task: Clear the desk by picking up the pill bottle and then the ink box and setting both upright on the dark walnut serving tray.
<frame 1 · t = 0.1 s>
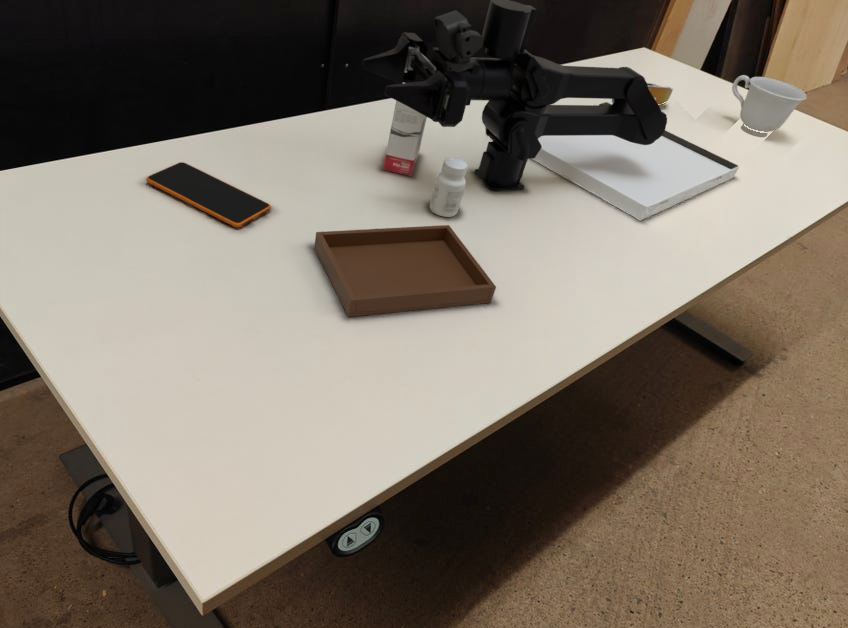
hand: (373, 76, 91), 17 cm above the table, tool horizontal, fingers open, 9 cm apart
tray: (401, 274, 87), on the table
teacup: (746, 130, 151), on the table
sunglasses: (632, 97, 155), on the table
ink box: (400, 163, 111), on the table
white flat slab: (617, 160, 127), on the table
pill bottle: (442, 211, 101), on the table
smartphone: (208, 197, 93), on the table
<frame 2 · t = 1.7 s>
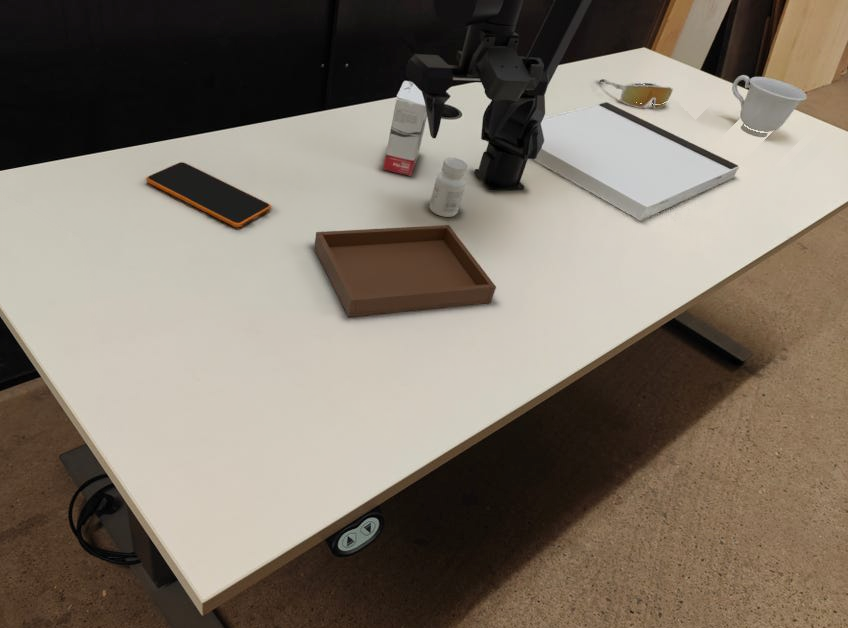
hand: (462, 137, 94), 12 cm above the table, tool pointing down, fingers open, 9 cm apart
nothing on the table moved.
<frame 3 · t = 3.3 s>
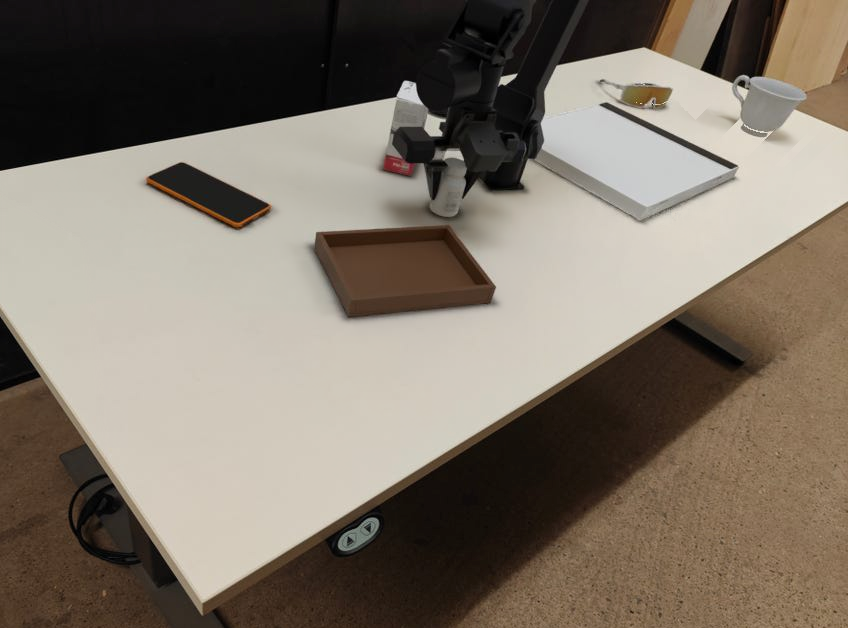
hand: (446, 198, 100), 2 cm above the table, tool pointing down, fingers closed on pill bottle, 4 cm apart
pill bottle: (442, 211, 101), on the table, touching gripper
everything else where it was.
when the fingers open (2 cm above the table, at t = 8.8 s): pill bottle stays where it is, resting on tray.
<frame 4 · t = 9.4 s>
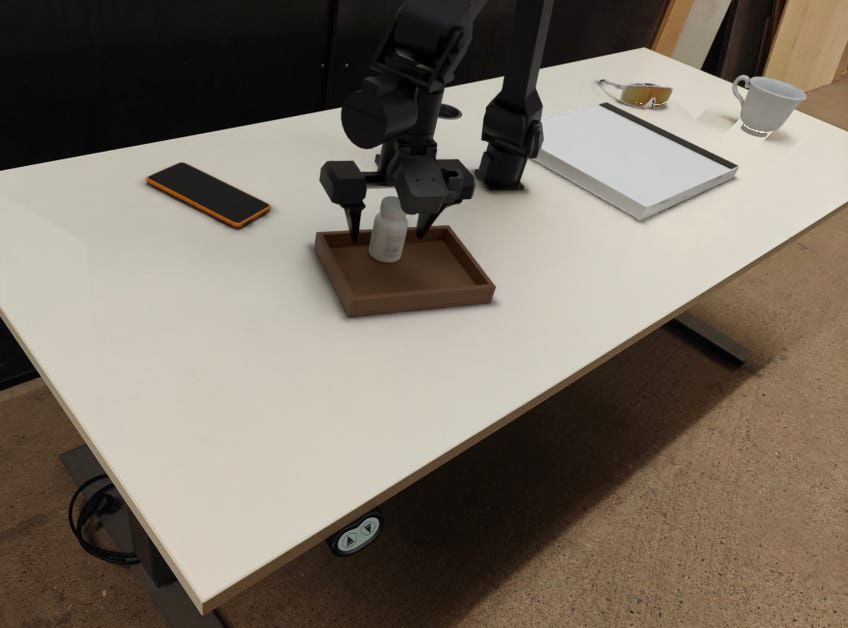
hand: (386, 239, 87), 3 cm above the table, tool pointing down, fingers open, 9 cm apart
pill bottle: (384, 255, 89), resting on tray
everything else where it was.
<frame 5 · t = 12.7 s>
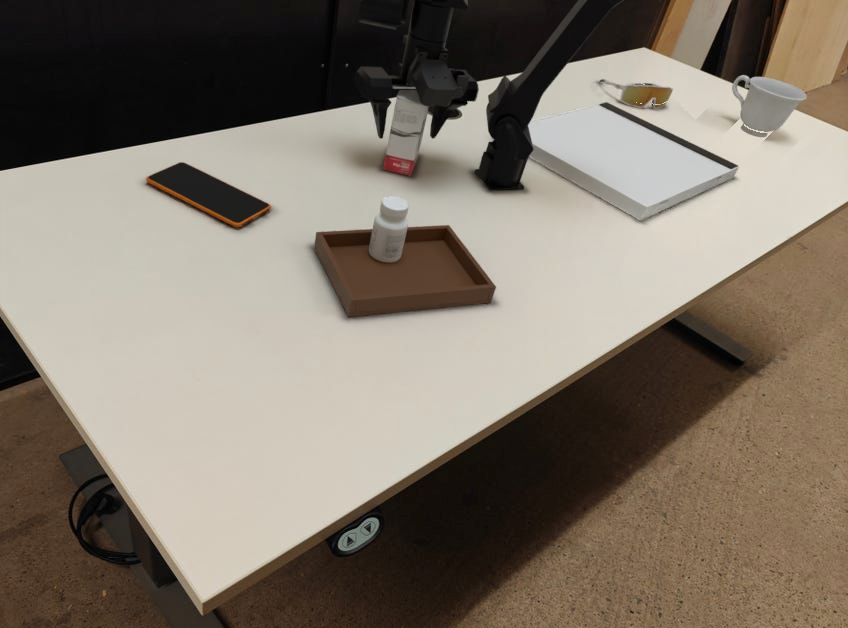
hand: (406, 137, 108), 4 cm above the table, tool pointing down
ink box: (400, 163, 111), on the table, touching gripper
everything else where it was.
when the fingers open (5 cm above the table, at t = 19.3 s): ink box stays where it is, resting on tray.
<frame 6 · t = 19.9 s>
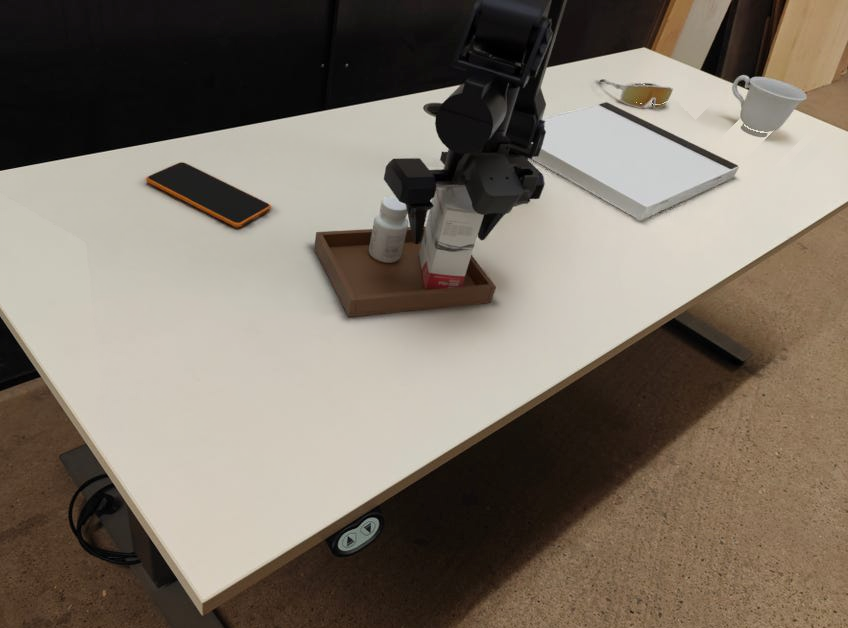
hand: (448, 240, 84), 6 cm above the table, tool pointing down, fingers open, 9 cm apart
ink box: (438, 274, 88), resting on tray
everything else where it was.
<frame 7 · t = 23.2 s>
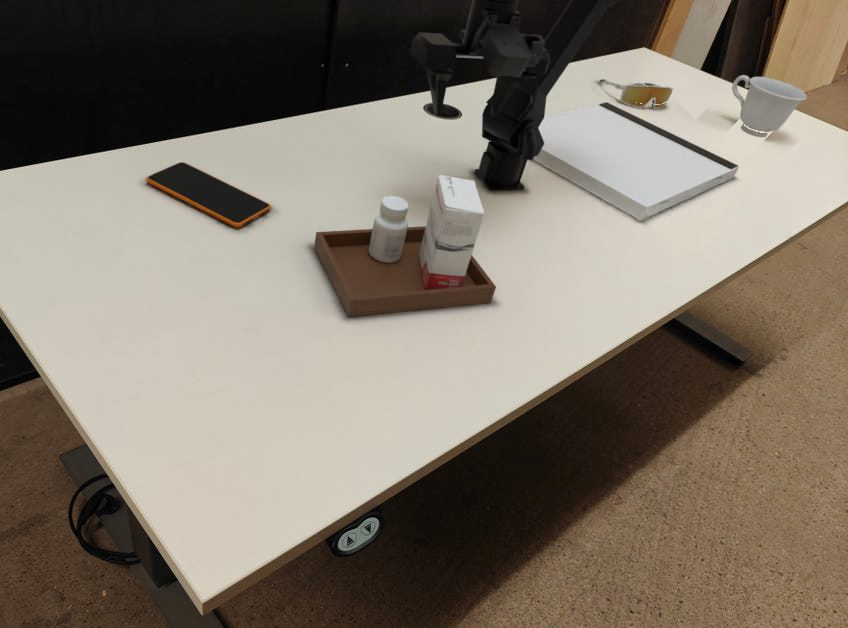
hand: (465, 115, 96), 13 cm above the table, tool pointing down, fingers open, 9 cm apart
nothing on the table moved.
at the end: pill bottle inside the target area in the tray (4.2 cm from its centre), point 0.3 cm above the tray's base; ink box inside the target area in the tray (5.0 cm from its centre), point 0.3 cm above the tray's base; ink box tilted 0° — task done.
